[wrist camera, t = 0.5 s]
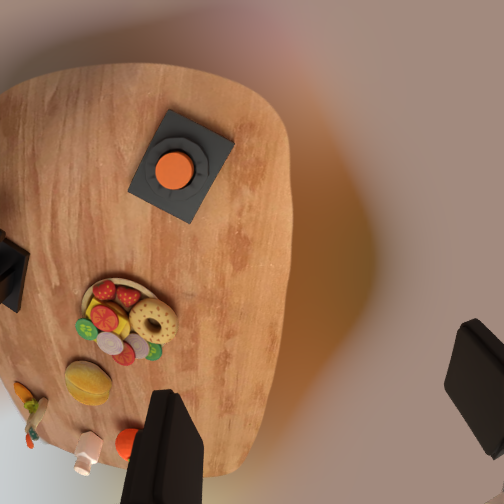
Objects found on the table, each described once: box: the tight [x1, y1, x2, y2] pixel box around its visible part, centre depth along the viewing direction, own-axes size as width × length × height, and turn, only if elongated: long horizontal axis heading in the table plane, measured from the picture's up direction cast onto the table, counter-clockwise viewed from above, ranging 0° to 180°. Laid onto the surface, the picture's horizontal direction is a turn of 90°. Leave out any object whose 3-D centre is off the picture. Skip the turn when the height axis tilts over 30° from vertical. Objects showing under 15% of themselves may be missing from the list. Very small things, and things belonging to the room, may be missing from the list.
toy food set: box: [75, 278, 179, 366], centre depth 40 cm, size 13×13×3 cm
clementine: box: [115, 428, 138, 461], centre depth 48 cm, size 8×7×7 cm
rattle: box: [14, 383, 48, 449], centre depth 42 cm, size 8×8×12 cm
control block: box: [128, 110, 235, 224], centre depth 33 cm, size 10×8×4 cm
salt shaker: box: [74, 431, 103, 475], centre depth 47 cm, size 4×4×10 cm
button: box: [155, 152, 194, 189], centre depth 30 cm, size 4×4×2 cm
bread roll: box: [65, 361, 112, 405], centre depth 43 cm, size 8×9×4 cm
